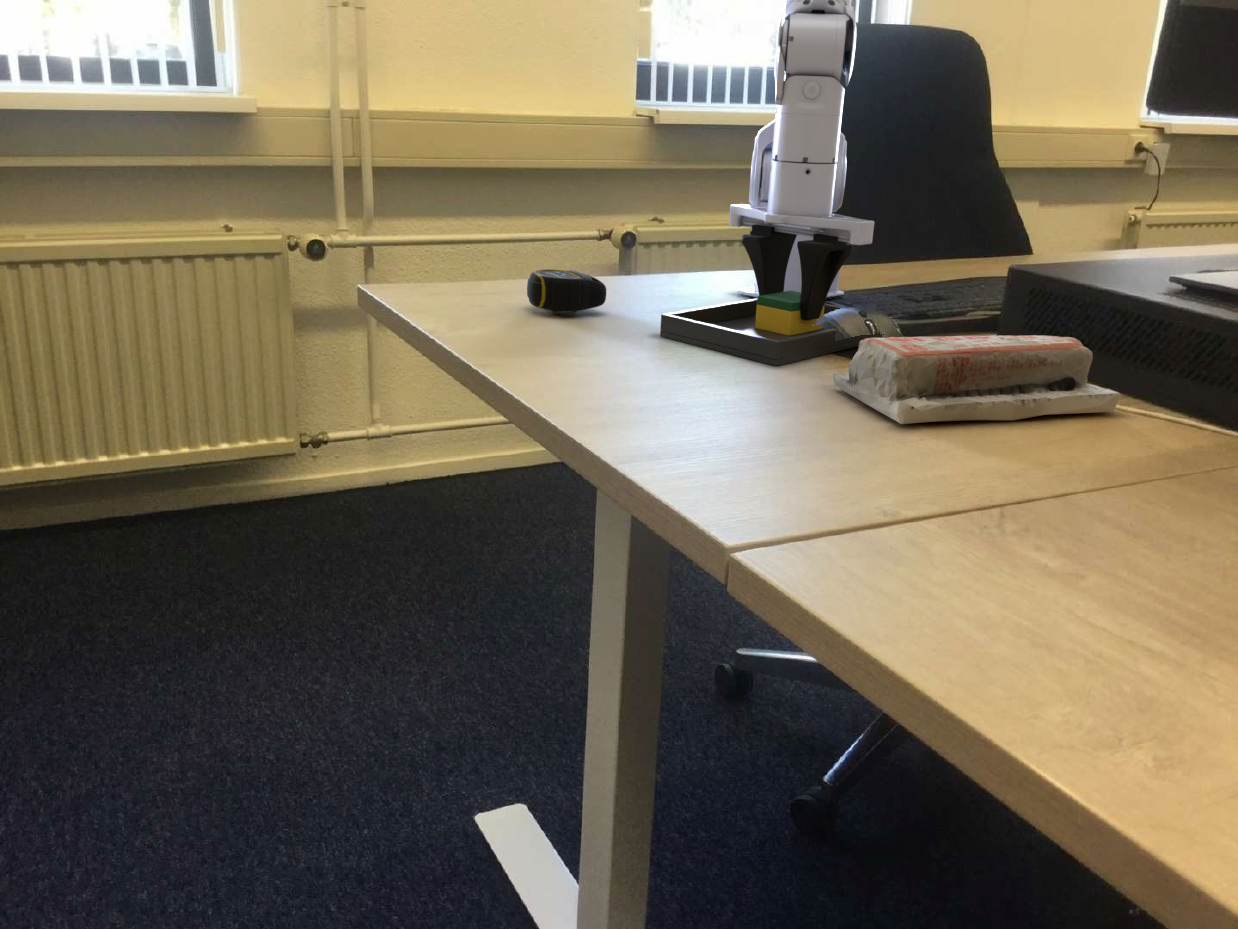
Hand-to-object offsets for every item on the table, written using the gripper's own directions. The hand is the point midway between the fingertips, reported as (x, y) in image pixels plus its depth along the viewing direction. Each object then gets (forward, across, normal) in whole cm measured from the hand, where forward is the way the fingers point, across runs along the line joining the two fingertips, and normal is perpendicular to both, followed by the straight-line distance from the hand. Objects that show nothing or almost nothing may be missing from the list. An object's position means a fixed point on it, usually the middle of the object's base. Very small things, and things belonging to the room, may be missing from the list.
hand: (789, 314), depth 96 cm
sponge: (+1, 0, 0) cm, 1 cm away
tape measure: (+2, -20, -10) cm, 22 cm away
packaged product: (+2, +22, -7) cm, 23 cm away
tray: (+2, 0, -2) cm, 3 cm away
